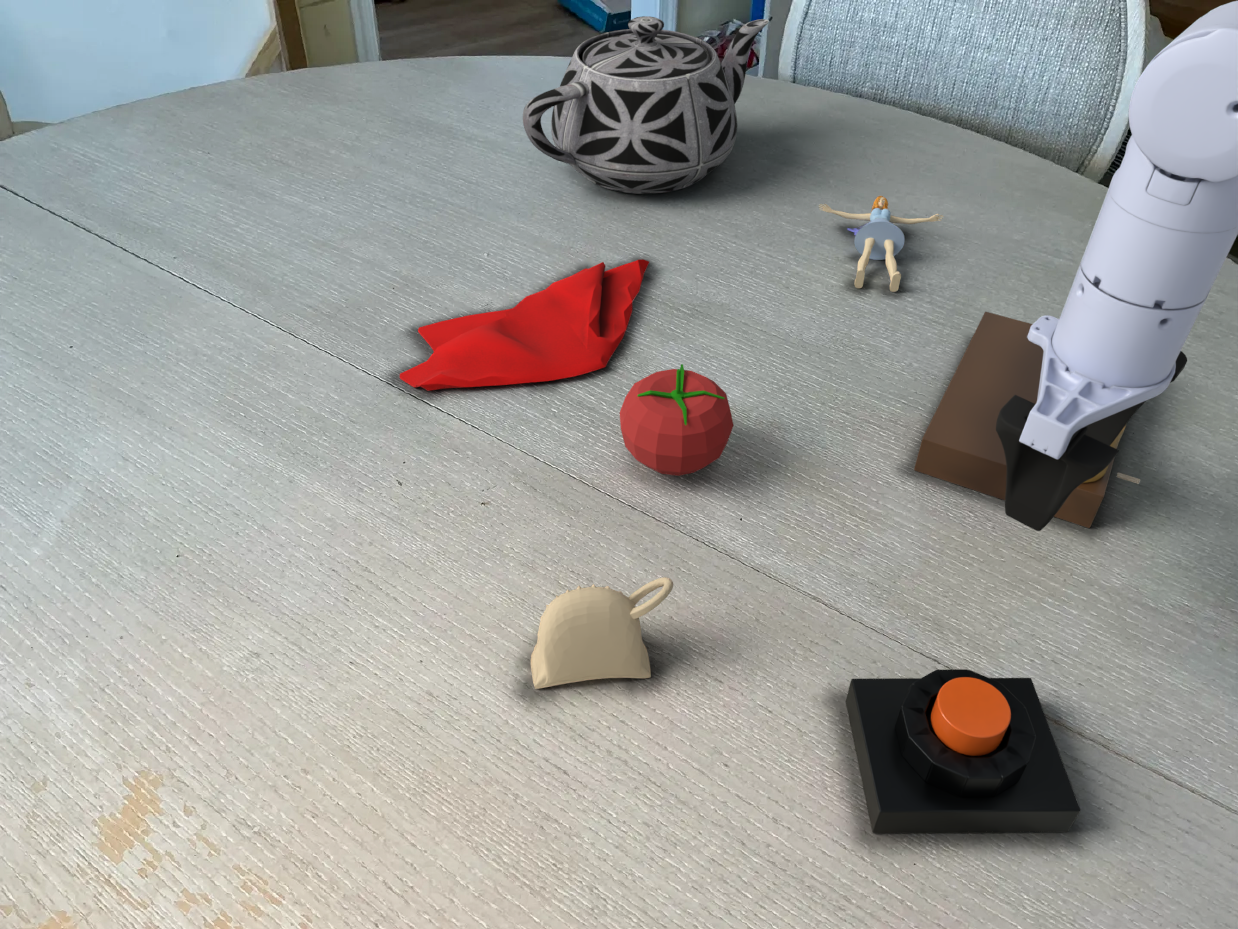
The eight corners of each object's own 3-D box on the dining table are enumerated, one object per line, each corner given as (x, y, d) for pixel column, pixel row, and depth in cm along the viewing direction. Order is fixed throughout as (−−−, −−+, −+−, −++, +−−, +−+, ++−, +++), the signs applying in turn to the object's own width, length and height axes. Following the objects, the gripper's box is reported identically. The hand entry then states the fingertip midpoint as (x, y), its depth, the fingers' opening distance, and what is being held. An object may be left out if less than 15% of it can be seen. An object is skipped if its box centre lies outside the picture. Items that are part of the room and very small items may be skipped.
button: (991, 696, 53) (999, 676, 52) (1011, 756, 51) (1020, 736, 50) (923, 696, 53) (930, 676, 52) (939, 756, 51) (947, 737, 49)
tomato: (734, 429, 75) (743, 345, 70) (724, 502, 69) (733, 415, 64) (628, 417, 76) (629, 333, 71) (609, 488, 70) (609, 402, 65)
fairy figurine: (815, 251, 87) (822, 174, 95) (808, 295, 91) (815, 217, 99) (952, 264, 86) (947, 185, 94) (939, 308, 89) (936, 228, 97)
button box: (1020, 700, 57) (1040, 657, 55) (1068, 833, 51) (1093, 791, 49) (845, 701, 57) (856, 658, 55) (872, 834, 51) (886, 793, 49)
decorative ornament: (529, 633, 61) (524, 574, 57) (667, 623, 61) (670, 564, 58) (531, 689, 58) (526, 630, 54) (676, 678, 58) (680, 619, 55)
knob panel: (1154, 391, 79) (1169, 358, 77) (1113, 555, 66) (1130, 521, 64) (976, 341, 84) (985, 309, 81) (906, 485, 71) (915, 451, 68)
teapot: (817, 157, 109) (837, 12, 99) (586, 244, 95) (582, 85, 85) (701, 100, 120) (710, -36, 110) (480, 170, 106) (466, 22, 96)
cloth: (446, 434, 75) (442, 410, 73) (370, 343, 83) (366, 320, 82) (723, 323, 85) (725, 300, 84) (632, 253, 94) (632, 231, 92)
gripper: (1119, 194, 54) (1041, 393, 63) (995, 307, 46) (927, 517, 55) (1258, 241, 50) (1155, 444, 60) (1151, 372, 42) (1051, 584, 52)
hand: (1054, 483), depth 57 cm, fingers open, 7 cm apart
